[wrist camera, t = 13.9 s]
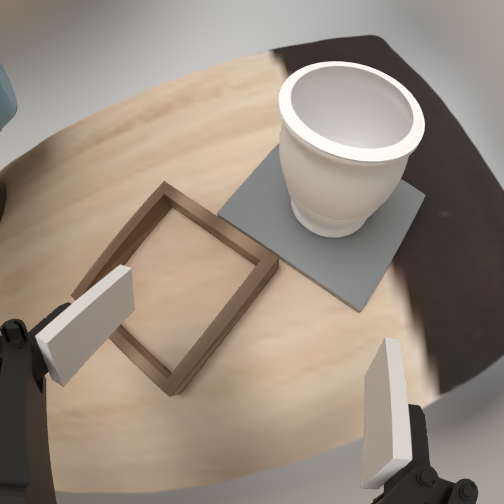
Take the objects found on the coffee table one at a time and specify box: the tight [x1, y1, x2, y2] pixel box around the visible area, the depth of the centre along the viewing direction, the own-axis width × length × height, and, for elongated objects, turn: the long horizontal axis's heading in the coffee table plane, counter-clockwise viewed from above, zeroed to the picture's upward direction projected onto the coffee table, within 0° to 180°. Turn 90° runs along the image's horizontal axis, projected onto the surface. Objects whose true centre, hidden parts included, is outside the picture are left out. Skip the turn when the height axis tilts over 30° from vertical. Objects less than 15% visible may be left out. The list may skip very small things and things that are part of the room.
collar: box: [71, 181, 279, 397], centre depth 31 cm, size 15×16×3 cm
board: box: [217, 144, 425, 313], centre depth 34 cm, size 18×16×1 cm
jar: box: [278, 62, 425, 238], centre depth 26 cm, size 11×10×15 cm
